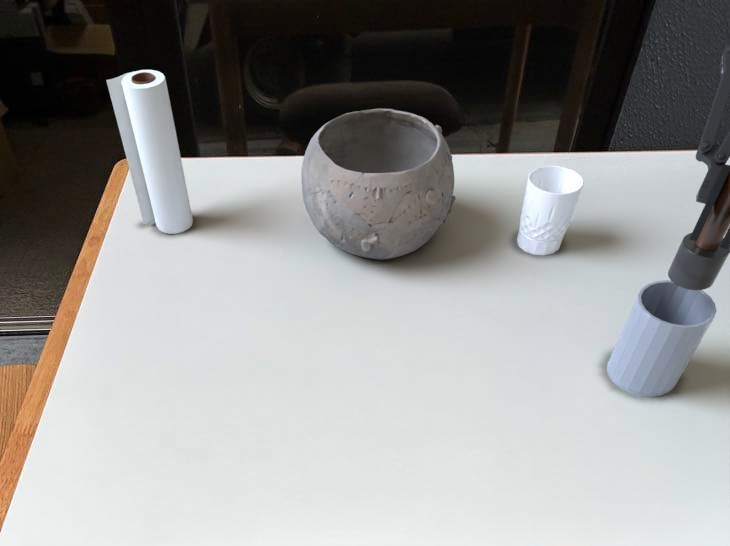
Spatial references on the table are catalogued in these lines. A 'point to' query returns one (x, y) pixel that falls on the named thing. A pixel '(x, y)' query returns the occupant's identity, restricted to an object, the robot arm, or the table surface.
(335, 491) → the table surface
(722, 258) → the brush
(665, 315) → the tumbler
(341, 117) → the bowl
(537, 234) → the white cup
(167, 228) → the paper towel roll
